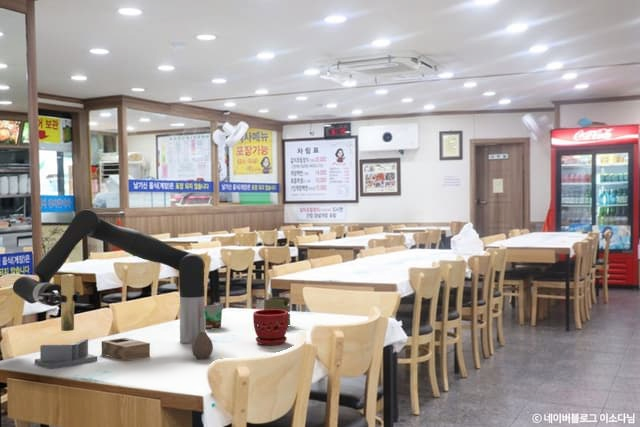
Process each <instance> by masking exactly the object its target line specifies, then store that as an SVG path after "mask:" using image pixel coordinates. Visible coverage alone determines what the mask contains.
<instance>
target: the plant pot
mask: <svg viewBox="0 0 640 427" xmlns="http://www.w3.org/2000/svg"><path fill="white" fill-rule="evenodd" d="M288 314H289V312H288V311H286V310H281V309H265V310H264V309H259V310H256V311H254V312H253V315H252V316H253V317H252V318H253V321H252V322H253V327H254V328H253V329H254V331H255V334H256V336H257V337H255V341H256V342H257V344H259V345H262V344H263V346H278V345H283V344H284V343H285V342H286V341H287V336H286V334H287V331H288V329H289V327H288ZM277 321H278V323H276V322H277Z"/></svg>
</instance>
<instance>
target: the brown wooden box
mask: <svg viewBox="0 0 640 427" xmlns="http://www.w3.org/2000/svg"><path fill="white" fill-rule="evenodd" d="M150 347H151V344H150V342H145V341H142V340H137V339H133V338H129V337H120V338H113V339H106V340H101V355H103V354H104V355H103V356H107V355H108V356H107V357H110V356H111V358H115V359H118V360H119V359H120V360H122V361H133V360H137V359H143V358H149V357H150V356H151V350H150V349H151V348H150Z"/></svg>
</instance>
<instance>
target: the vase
mask: <svg viewBox="0 0 640 427" xmlns="http://www.w3.org/2000/svg"><path fill="white" fill-rule="evenodd" d="M213 348H214V347H213V342H212V339H211V338H210V337H209V336H208V334H207V332H199V333H198V335H197V336H196V338H195V339H194V341H193V343H191V353H192V355H193V357H194V358H196V360H207V359H209V358H210V357H211V355H212V353H213V350H214V349H213Z"/></svg>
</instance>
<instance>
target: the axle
mask: <svg viewBox="0 0 640 427" xmlns="http://www.w3.org/2000/svg"><path fill="white" fill-rule="evenodd" d="M60 278H61V280H60V282H61V283H60V284H61V285H60V286H61V295H65V296H66V302H64V303H63V302H61V303H60V311H61V312H60V330H61V332H62V331H63V332H70V331H74V330H75V301H74V291H75V274H61V277H60Z"/></svg>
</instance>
